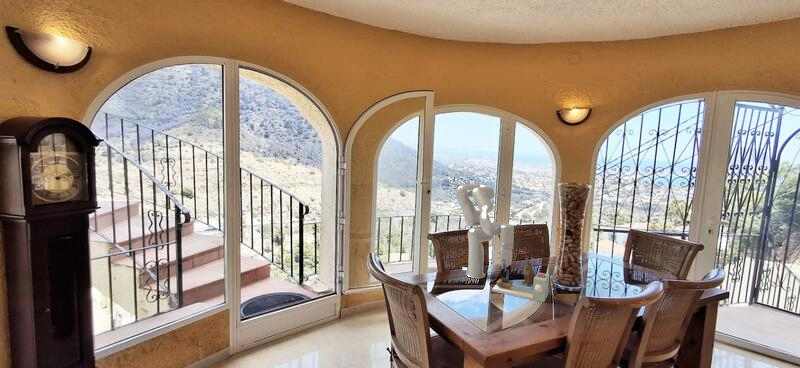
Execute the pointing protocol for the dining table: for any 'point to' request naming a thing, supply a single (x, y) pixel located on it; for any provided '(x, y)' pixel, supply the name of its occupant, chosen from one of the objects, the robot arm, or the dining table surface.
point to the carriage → (505, 281)
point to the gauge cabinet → (540, 288)
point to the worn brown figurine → (528, 274)
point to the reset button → (541, 275)
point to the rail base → (515, 291)
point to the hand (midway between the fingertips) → (505, 275)
